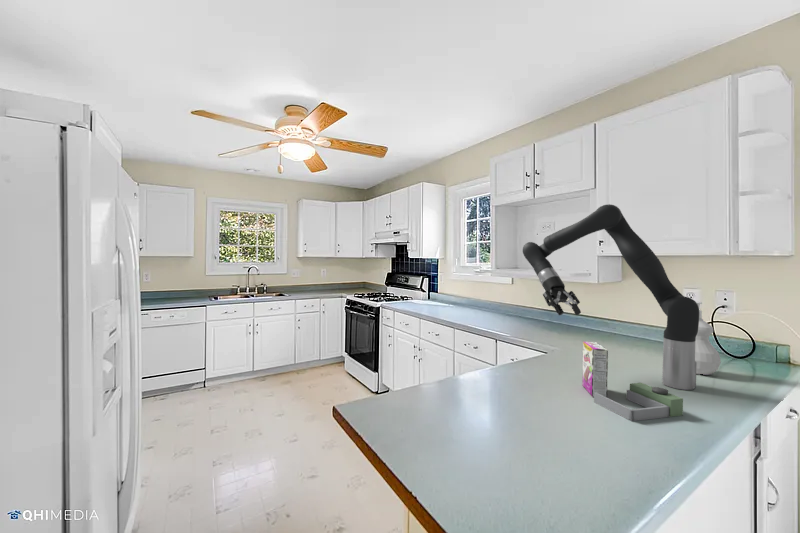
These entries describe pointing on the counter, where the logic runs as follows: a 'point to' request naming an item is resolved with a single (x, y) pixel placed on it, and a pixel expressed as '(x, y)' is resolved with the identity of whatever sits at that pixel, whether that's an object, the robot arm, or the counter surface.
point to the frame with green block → (645, 403)
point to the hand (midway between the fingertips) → (570, 314)
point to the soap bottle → (705, 349)
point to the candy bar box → (595, 368)
